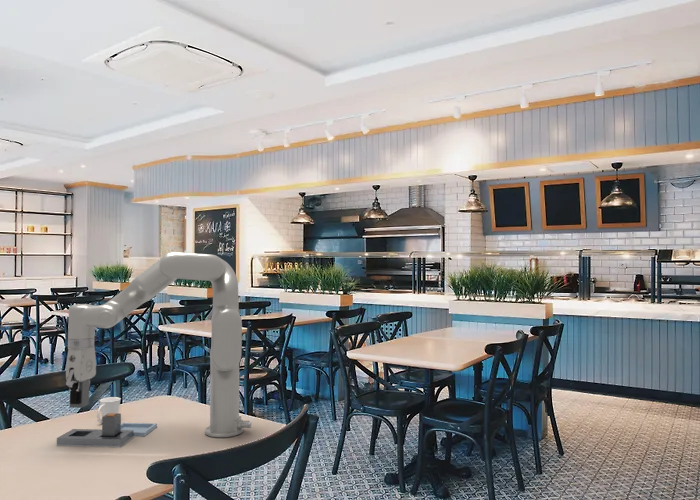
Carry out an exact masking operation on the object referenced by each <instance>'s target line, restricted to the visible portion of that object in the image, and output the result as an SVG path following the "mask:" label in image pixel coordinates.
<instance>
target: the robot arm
mask: <svg viewBox="0 0 700 500" xmlns="http://www.w3.org/2000/svg"><path fill="white" fill-rule="evenodd" d="M177 280H192V281H207V282H208V281H209V282H210V283H211V286H212V314H211V320H210V321H211V343H210V344H211V347H210V351H209V359H210V360H209V361H210V362H209V364H210V368H209V369H210V370H209V371H210V375H209V376H210V382H209V383H210V385H209V386H210V387H209V390H210V391H209V392H210V393H209V397H210V398H209V426H207V427H206V428H204V429H205V430H204V433H205V435H206V436H208V437H211V438H231V437H235V436H237V435H240V434H242V433H243V432H244V428H245V429H251V428H252V422H251V421H250V420H243V419H242V415H241V416H240V362H241V359H242V350H243V348H242V347H243V346H242V344H243V341H242V339H243V336H242V335H243V322H242V317H241V315H240V312H239V310H240V309H239V307H240V306H239V302H240V299H239V281H238V278H237V275H236V273H235V271H234V269H233V267H232V266H231V265H230V264H229V263H228V262H227V261H226V260H224V258H223V259H222V258H221V257H220V256H217V255H216V254H211V253H210V254H209V253H208V254H207V253H191V252H181V251H169V252H166V253H165V254H164V255H162V257H161V258H160V259H158V260H157V261H156V262H154V263H153V264H152V265H150V266H149V267H148V268H146V269H145V270H143V272H141V273H140V274H138V275H137V276H136V277H135V278H134V279H133V280H132V281H131V282H130V283H129V285H127V286H126V287H125V288H124V289H123V290H121V291H120V292H119V293H117V294H116V295H115V296H113V297H112V298H111V299H110V300H108V301H106V302H105V303H104V304H99V305H93V304H88V303H87V304H86V303H79V304H73V305H71V306H69V308H68V322H67V323H68V325H67V326H68V330H67V356H66V365H65V366H66V367H65V379H66V383H65V385H66V386H67V387H68V388H69V405H70V404H80V403H81V391H80V385H81V382H83V381H85V380H88V379H89V388H90V387H91V381H92V378H94V377H95V376H96V375H97V361H96V360H97V359H96V350H95V349H96V348H95V328H99V329H110V328H113V327H114V326H115V325H117V324H118V323H120V321H122V320H123V319H124V318H126V317H127V316H129V315H130V314H131V313H132V312H134V311H135V310H137V308H139V307H141V306H142V305H143V304H144V303H146V302H149V301H151V300H152V299H153V298H155V296H157V295H159V294H160V293H161V292H163V290H165V289H166V288H167V287H169V286H170V285H172V284H173V283H174V282H175V281H177ZM74 380H78V381H74ZM74 383H77V386H76V384H74Z"/></svg>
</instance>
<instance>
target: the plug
mask: <svg viewBox="0 0 700 500" xmlns="http://www.w3.org/2000/svg"><path fill="white" fill-rule="evenodd" d="M74 381H78V380H76V379H75V380H74ZM74 384H76V386H77V383H74ZM80 391H81V403H80V404H70V403H69V408H76V409H78V408H81V409H83V408H84V407H87V406H88V405H90V387H89V379H88V380H85V381H83V382H81V385H80Z"/></svg>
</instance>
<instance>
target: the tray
mask: <svg viewBox="0 0 700 500" xmlns="http://www.w3.org/2000/svg"><path fill="white" fill-rule="evenodd" d="M157 428H158V423H154V422H153V423H149V422H148V423H147V422H146V423H144V422H121V430H133V437H146V436H147V435H149V434H150V433H151V432H153V431H155V429H157Z"/></svg>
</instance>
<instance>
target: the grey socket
mask: <svg viewBox="0 0 700 500" xmlns="http://www.w3.org/2000/svg"><path fill="white" fill-rule="evenodd" d="M101 418H102V419H101V421H102V423H101V429H94V428H93V429H92V428H89V429H88V428H87V429H85V428H84V429H83V428H73V429H71V430H69V431H67V432H65V433H63V434H62V435H60V436H58V437H56V447H75V448H76V447H82V448H87V447H88V448H121V447H123V446H124V445H125V444H127V443H128V442H130V441H131V440H132V439H134V436H133V430H121V424H122V413H119V412H118V413H108V414H106V415H105V416H103V417H102V416H101Z"/></svg>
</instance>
